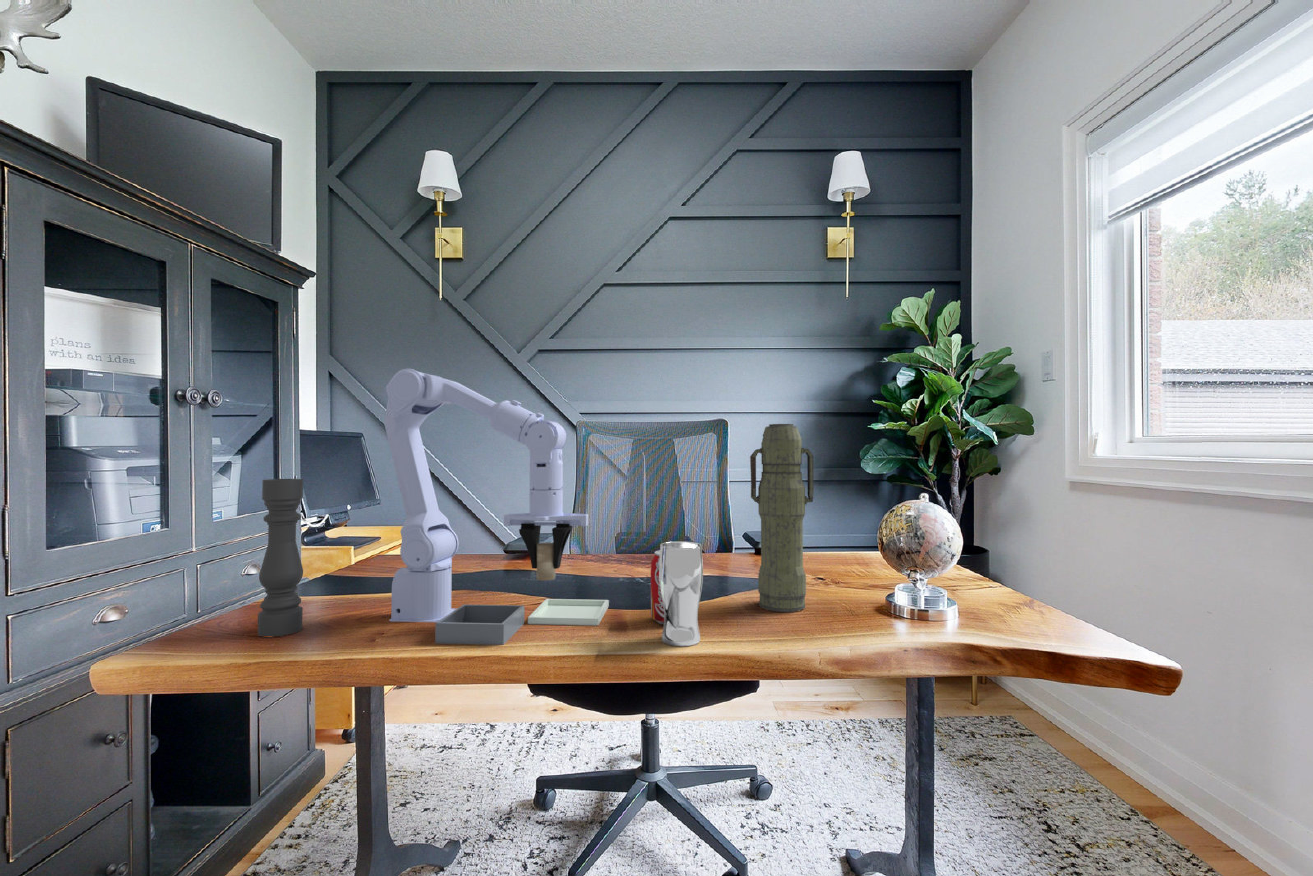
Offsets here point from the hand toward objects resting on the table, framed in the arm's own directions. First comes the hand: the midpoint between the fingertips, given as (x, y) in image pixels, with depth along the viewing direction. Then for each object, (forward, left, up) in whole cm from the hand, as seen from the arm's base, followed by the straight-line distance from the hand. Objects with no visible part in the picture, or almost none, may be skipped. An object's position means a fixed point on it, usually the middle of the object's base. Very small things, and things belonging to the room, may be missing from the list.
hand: (546, 567), depth 98 cm
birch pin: (0, 0, -2) cm, 2 cm away
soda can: (+22, +2, -10) cm, 24 cm away
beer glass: (+24, -8, -10) cm, 27 cm away
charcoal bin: (-8, -8, -10) cm, 15 cm away
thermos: (+43, +13, -10) cm, 46 cm away
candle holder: (-42, -8, -10) cm, 44 cm away
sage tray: (+4, +3, -10) cm, 11 cm away
